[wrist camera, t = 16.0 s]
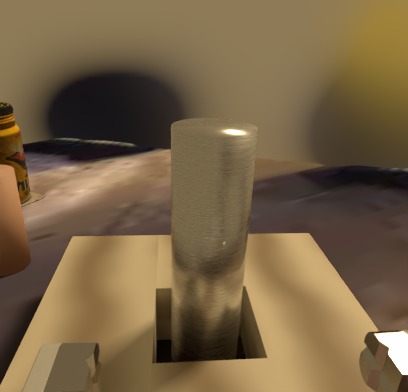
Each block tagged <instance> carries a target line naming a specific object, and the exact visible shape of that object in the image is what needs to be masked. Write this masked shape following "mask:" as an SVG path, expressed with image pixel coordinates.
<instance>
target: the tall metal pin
mask: <svg viewBox="0 0 408 392" xmlns="http://www.w3.org/2000/svg"><path fill="white" fill-rule="evenodd" d="M257 134H258V128H257V127H256V126H254V125H252V124H249V123H246V122H242V121H237V120H230V119H220V118H194V119H186V120H181V121H177V122H175V123H173V124H172V125H171V331H172V363H174V362H196V361H217V360H236V355H237V344H238V334H239V323H240V313H241V302H242V292H243V281H244V271H245V260H246V250H247V240H248V229H249V219H250V208H251V198H252V187H253V177H254V166H255V156H256V145H257Z"/></svg>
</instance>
